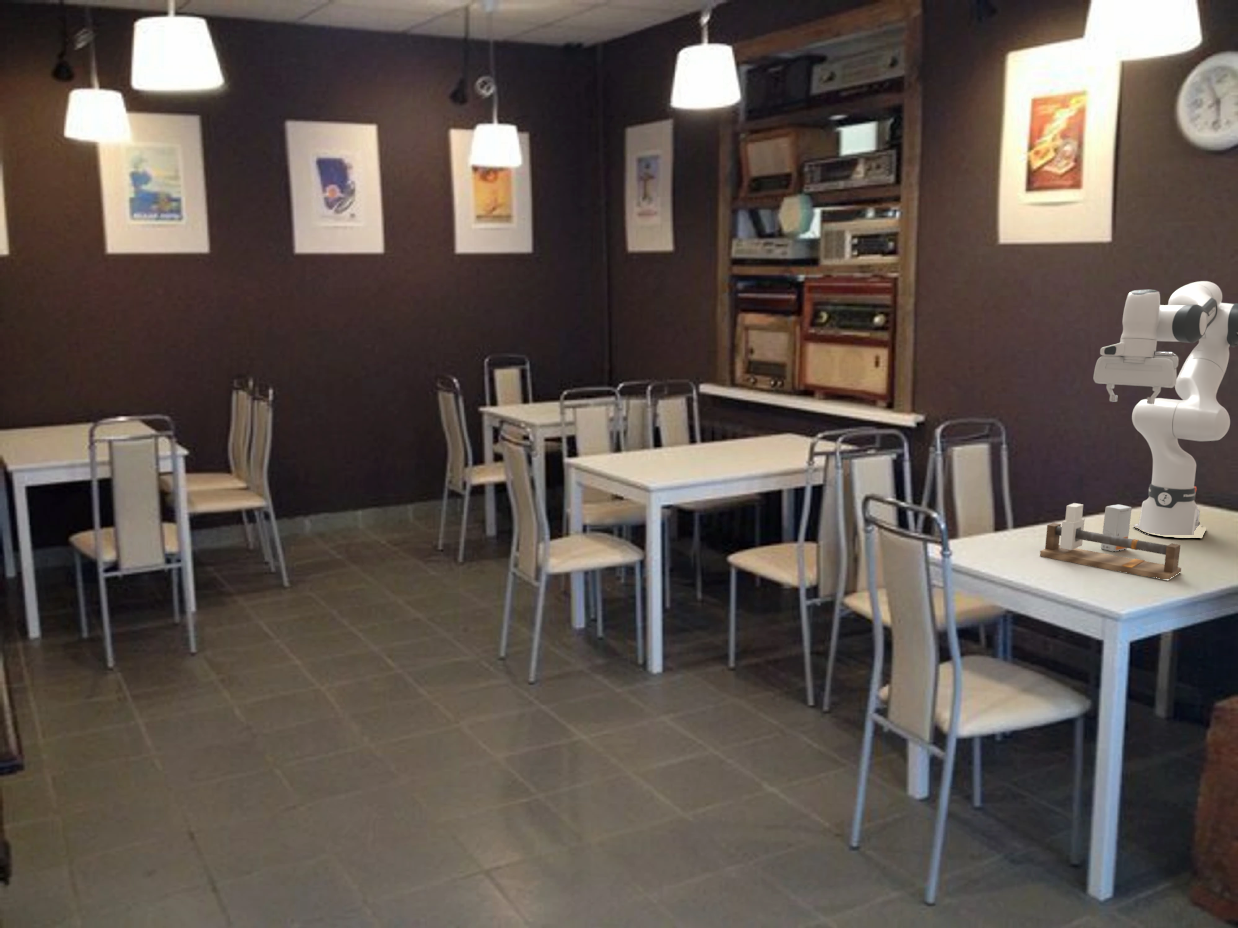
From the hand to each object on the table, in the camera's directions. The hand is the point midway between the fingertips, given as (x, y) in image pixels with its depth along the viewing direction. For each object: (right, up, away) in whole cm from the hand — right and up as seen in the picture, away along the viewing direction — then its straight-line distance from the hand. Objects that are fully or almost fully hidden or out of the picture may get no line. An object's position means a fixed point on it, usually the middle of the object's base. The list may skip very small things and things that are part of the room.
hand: (1131, 402), depth 298 cm
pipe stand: (-9, -42, -7) cm, 44 cm away
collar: (-17, -38, -1) cm, 42 cm away
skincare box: (-1, -40, +9) cm, 41 cm away
